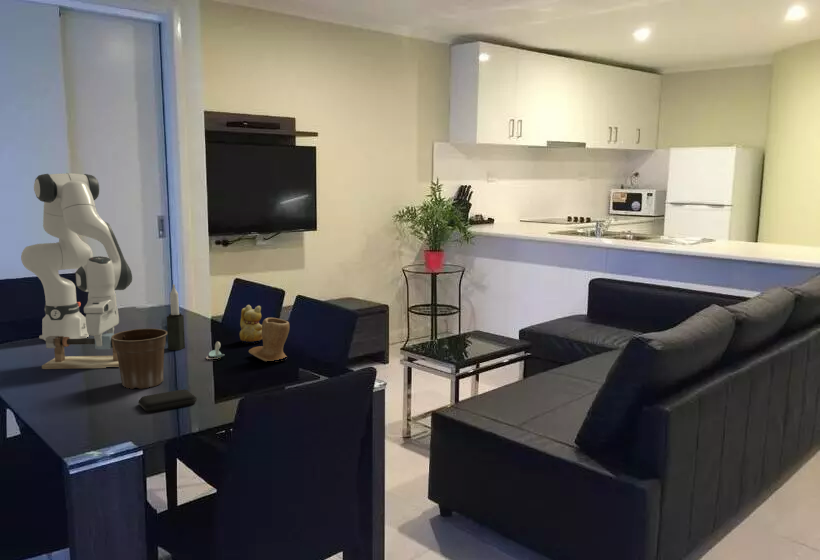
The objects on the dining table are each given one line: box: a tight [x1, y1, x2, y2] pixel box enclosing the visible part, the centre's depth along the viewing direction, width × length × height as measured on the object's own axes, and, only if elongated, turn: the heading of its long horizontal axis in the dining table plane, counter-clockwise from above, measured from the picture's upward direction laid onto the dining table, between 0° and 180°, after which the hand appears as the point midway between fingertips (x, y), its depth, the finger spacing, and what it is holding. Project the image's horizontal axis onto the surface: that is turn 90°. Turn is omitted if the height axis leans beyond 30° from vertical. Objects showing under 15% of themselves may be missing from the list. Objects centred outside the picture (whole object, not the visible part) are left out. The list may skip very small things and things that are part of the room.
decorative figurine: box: [239, 304, 263, 342], centre depth 262 cm, size 10×8×15 cm
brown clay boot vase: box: [248, 317, 290, 362], centre depth 239 cm, size 15×12×15 cm
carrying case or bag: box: [138, 389, 198, 413], centre depth 190 cm, size 11×3×15 cm
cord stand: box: [41, 336, 119, 370], centre depth 231 cm, size 12×26×10 cm, turn 95°
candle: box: [166, 283, 186, 351], centre depth 251 cm, size 5×5×25 cm
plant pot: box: [111, 328, 168, 390], centre depth 208 cm, size 16×16×16 cm
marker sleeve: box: [94, 332, 115, 350], centre depth 231 cm, size 5×5×5 cm
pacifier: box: [205, 341, 225, 360], centre depth 239 cm, size 7×6×6 cm
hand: (105, 342), depth 231 cm, fingers open, 8 cm apart
